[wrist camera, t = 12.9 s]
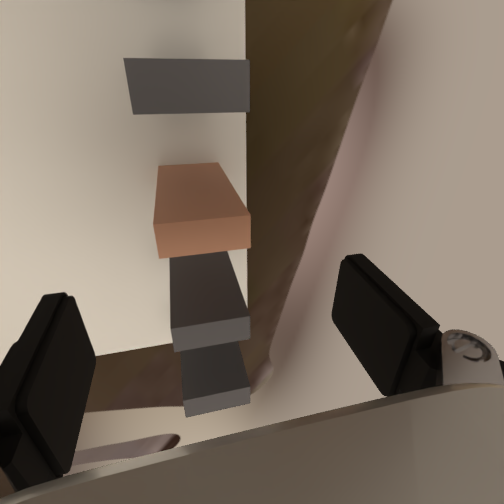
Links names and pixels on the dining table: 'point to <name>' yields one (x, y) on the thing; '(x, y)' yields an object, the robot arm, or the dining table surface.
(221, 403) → the domino
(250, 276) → the dining table surface
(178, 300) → the domino
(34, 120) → the mat
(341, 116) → the dining table surface
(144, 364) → the dining table surface
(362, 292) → the robot arm
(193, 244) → the domino
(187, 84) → the domino
